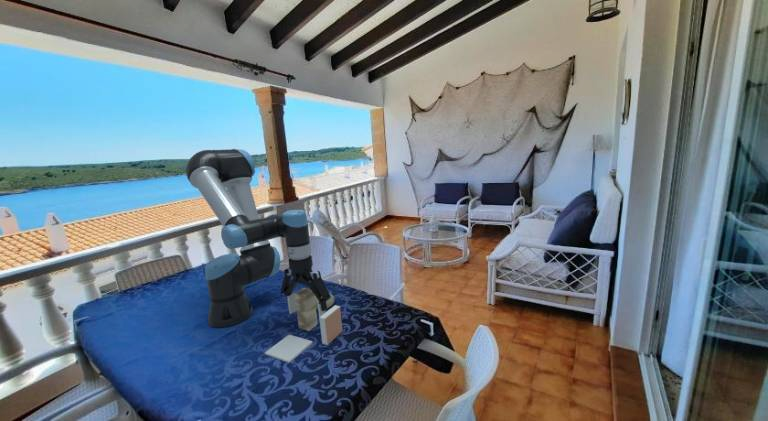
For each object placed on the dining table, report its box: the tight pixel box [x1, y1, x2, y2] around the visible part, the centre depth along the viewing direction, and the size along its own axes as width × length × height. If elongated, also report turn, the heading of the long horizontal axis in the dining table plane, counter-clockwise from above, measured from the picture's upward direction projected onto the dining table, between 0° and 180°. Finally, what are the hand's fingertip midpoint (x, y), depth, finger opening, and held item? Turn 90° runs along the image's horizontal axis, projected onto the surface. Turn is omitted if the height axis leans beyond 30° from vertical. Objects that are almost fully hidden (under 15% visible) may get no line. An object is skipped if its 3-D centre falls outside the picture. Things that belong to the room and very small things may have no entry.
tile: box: [318, 305, 343, 346], centre depth 95 cm, size 2×8×9 cm, turn 152°
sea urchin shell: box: [314, 292, 335, 311], centre depth 118 cm, size 9×8×8 cm
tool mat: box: [264, 334, 314, 364], centre depth 92 cm, size 10×10×1 cm
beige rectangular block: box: [294, 287, 319, 332], centre depth 102 cm, size 4×4×13 cm
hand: (307, 315), depth 103 cm, fingers open, 13 cm apart
